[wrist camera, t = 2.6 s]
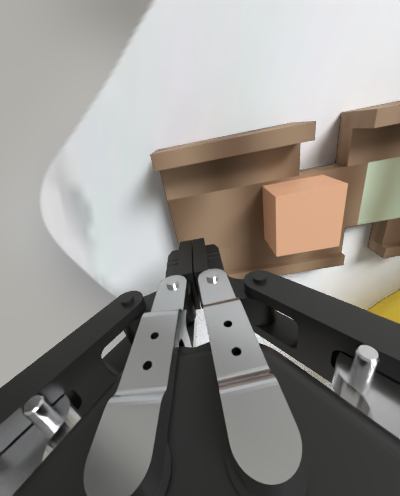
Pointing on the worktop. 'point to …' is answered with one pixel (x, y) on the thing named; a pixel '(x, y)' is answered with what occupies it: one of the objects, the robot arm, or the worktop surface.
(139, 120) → the worktop surface
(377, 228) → the box
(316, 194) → the block
